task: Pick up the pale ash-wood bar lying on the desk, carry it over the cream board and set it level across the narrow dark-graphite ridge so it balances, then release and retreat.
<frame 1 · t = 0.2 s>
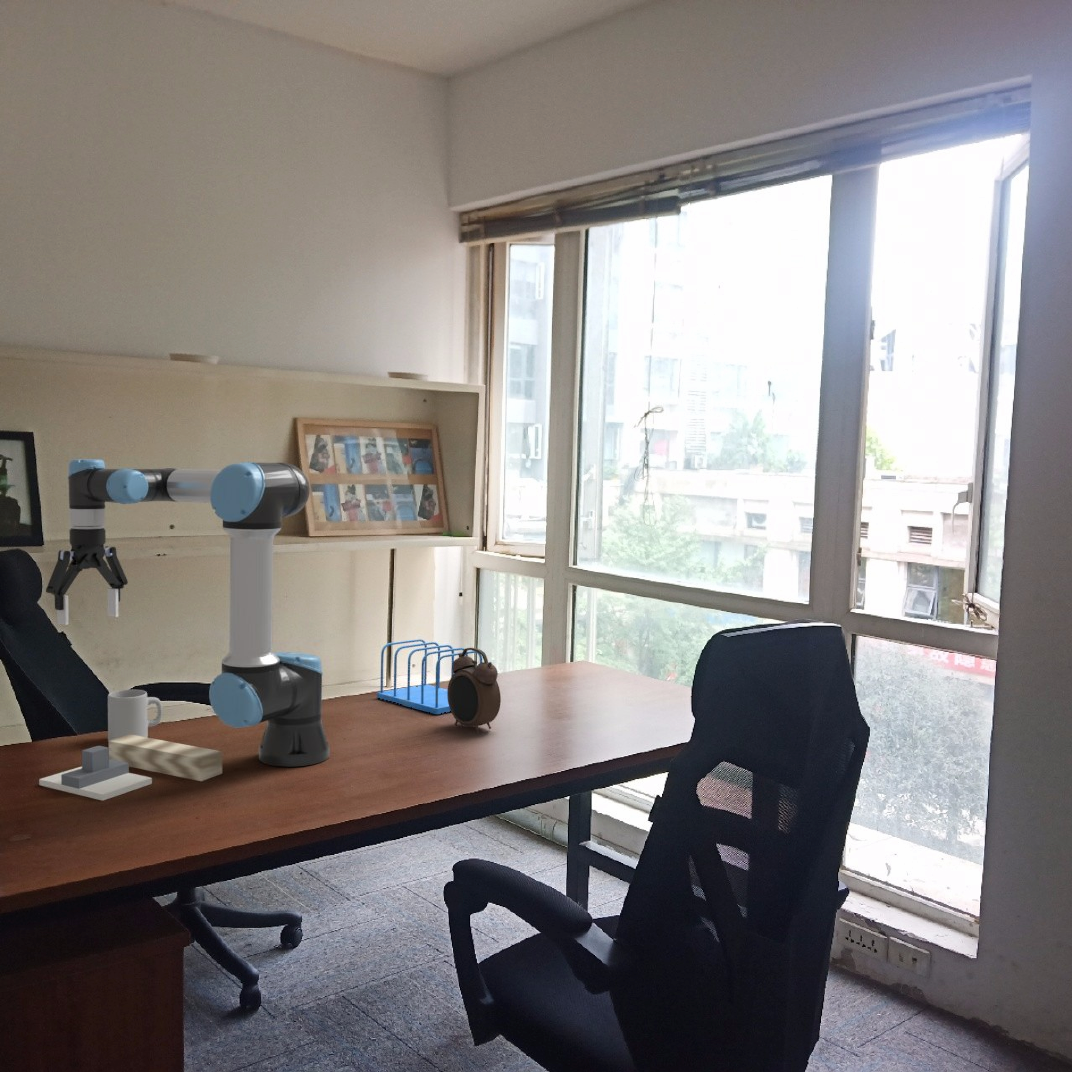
hand: (88, 620, 240), 28 cm above the table, fingers open, 13 cm apart
oak bar: (164, 769, 223), on the table
file sorter: (430, 703, 286), on the table
alarm clock: (472, 729, 259), on the table
mug: (135, 740, 243), on the table
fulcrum: (95, 784, 211), on the table
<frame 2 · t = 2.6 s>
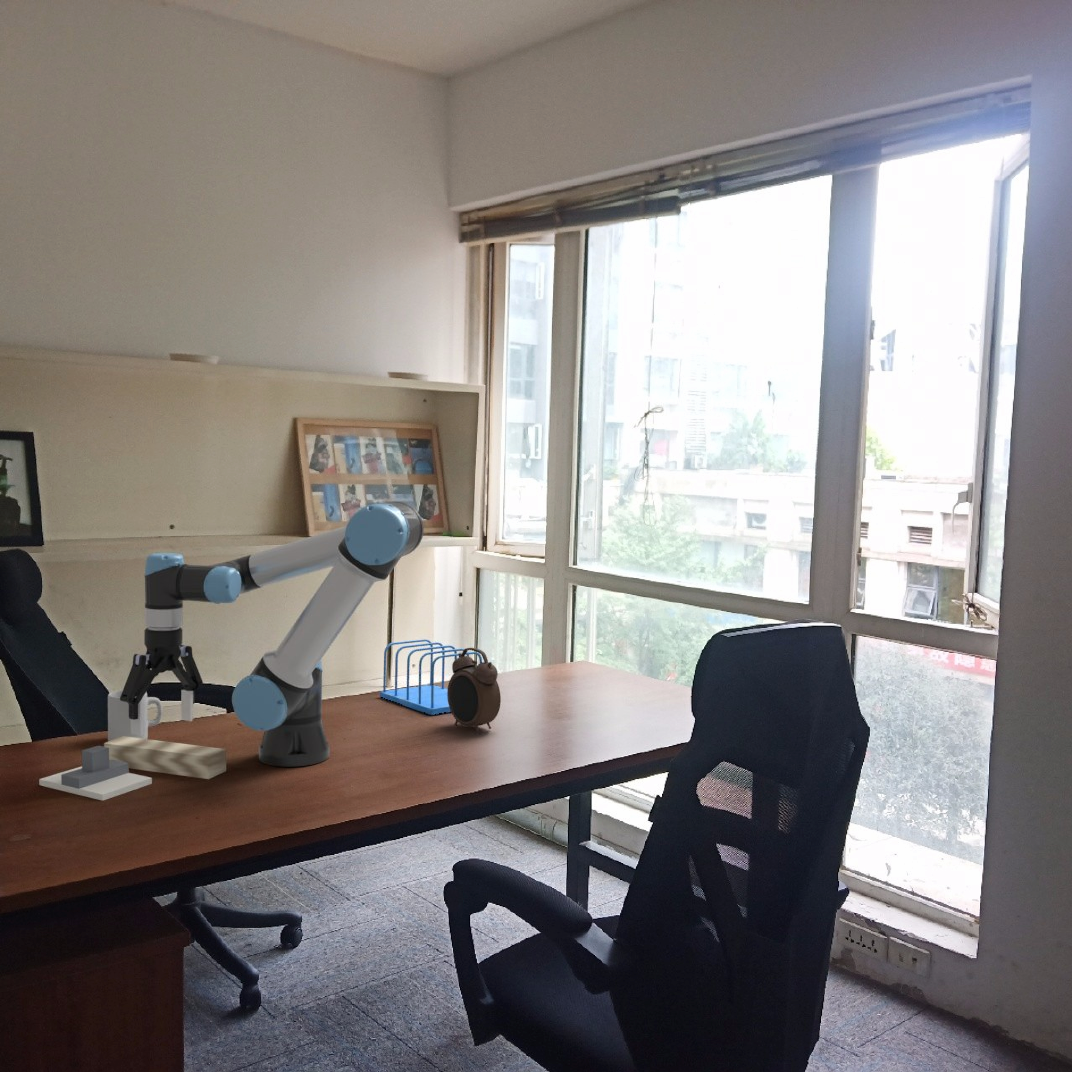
hand: (162, 727, 222), 9 cm above the table, fingers open, 13 cm apart
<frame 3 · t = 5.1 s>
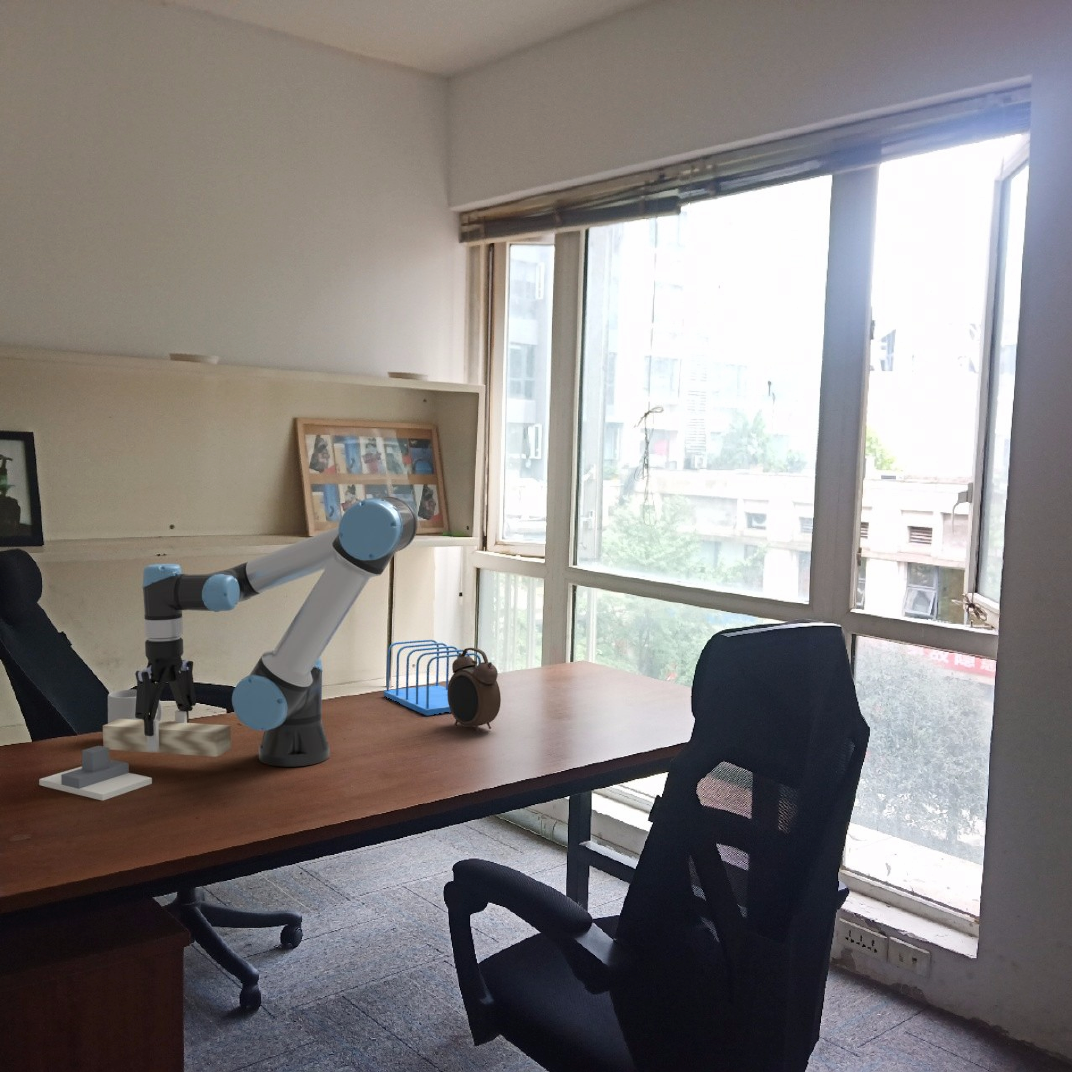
hand: (167, 745, 222), 5 cm above the table, fingers closed on oak bar, 7 cm apart
oak bar: (167, 748, 222), point 4 cm above the table, touching gripper
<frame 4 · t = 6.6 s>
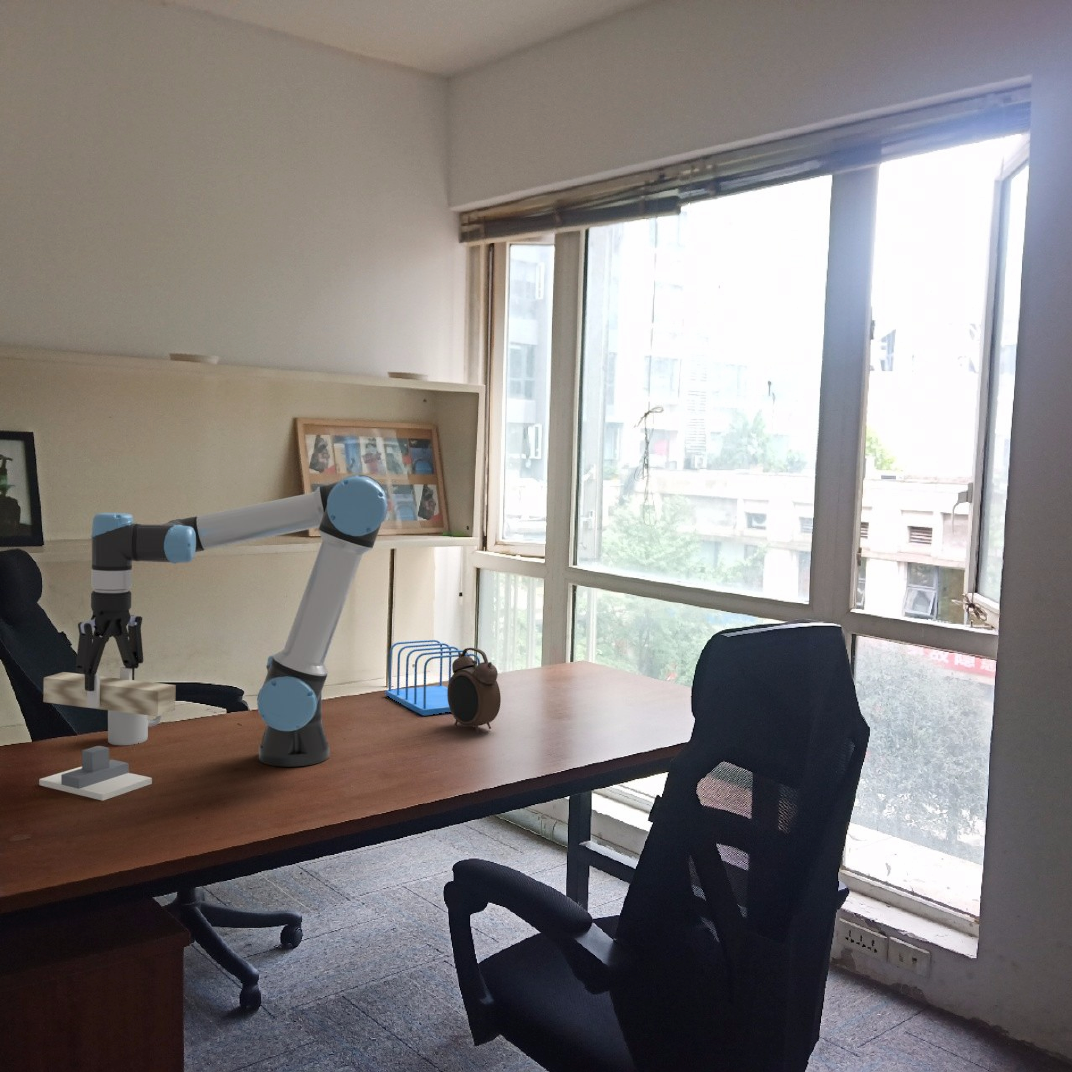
hand: (109, 702, 213), 16 cm above the table, fingers closed on oak bar, 7 cm apart
oak bar: (109, 705, 213), point 15 cm above the table, touching gripper
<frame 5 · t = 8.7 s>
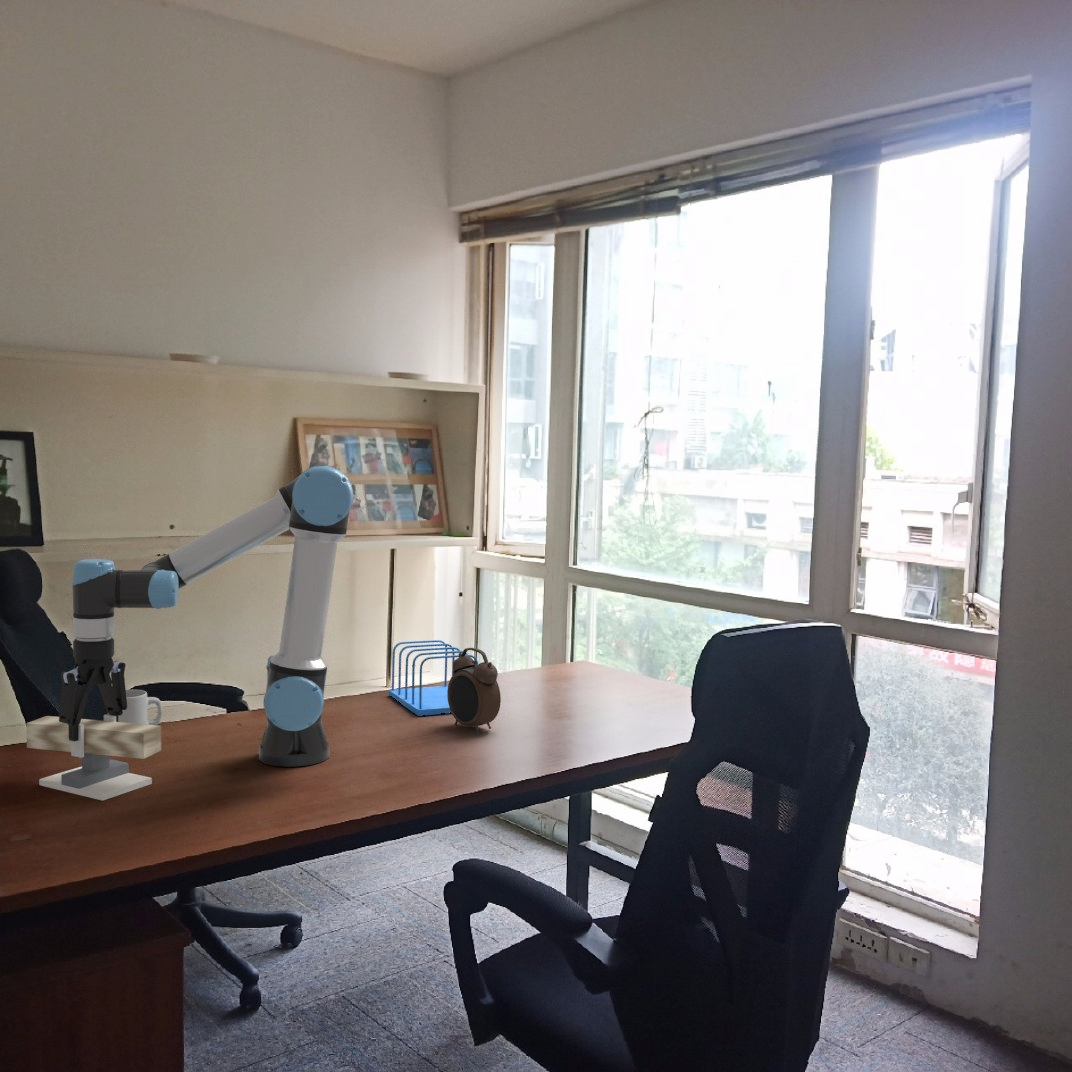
hand: (94, 751, 210), 7 cm above the table, fingers closed on oak bar, 7 cm apart
oak bar: (94, 749, 210), point 7 cm above the table, touching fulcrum, gripper
when the fingers open (7 cm above the table, at t = 9.3 s): oak bar stays where it is, resting on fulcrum.
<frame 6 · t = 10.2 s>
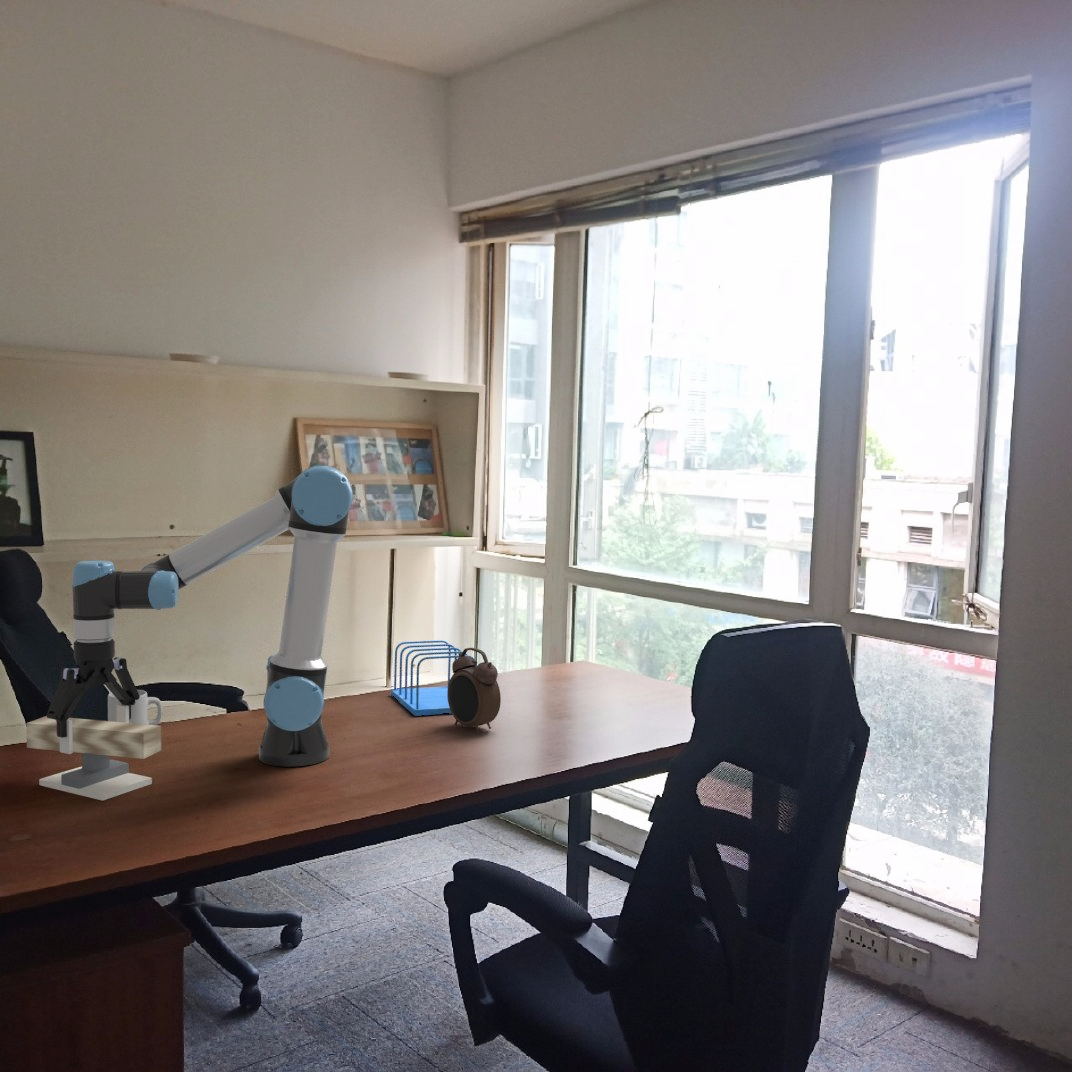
hand: (95, 744, 210), 8 cm above the table, fingers open, 13 cm apart
oak bar: (94, 749, 210), point 7 cm above the table, touching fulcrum
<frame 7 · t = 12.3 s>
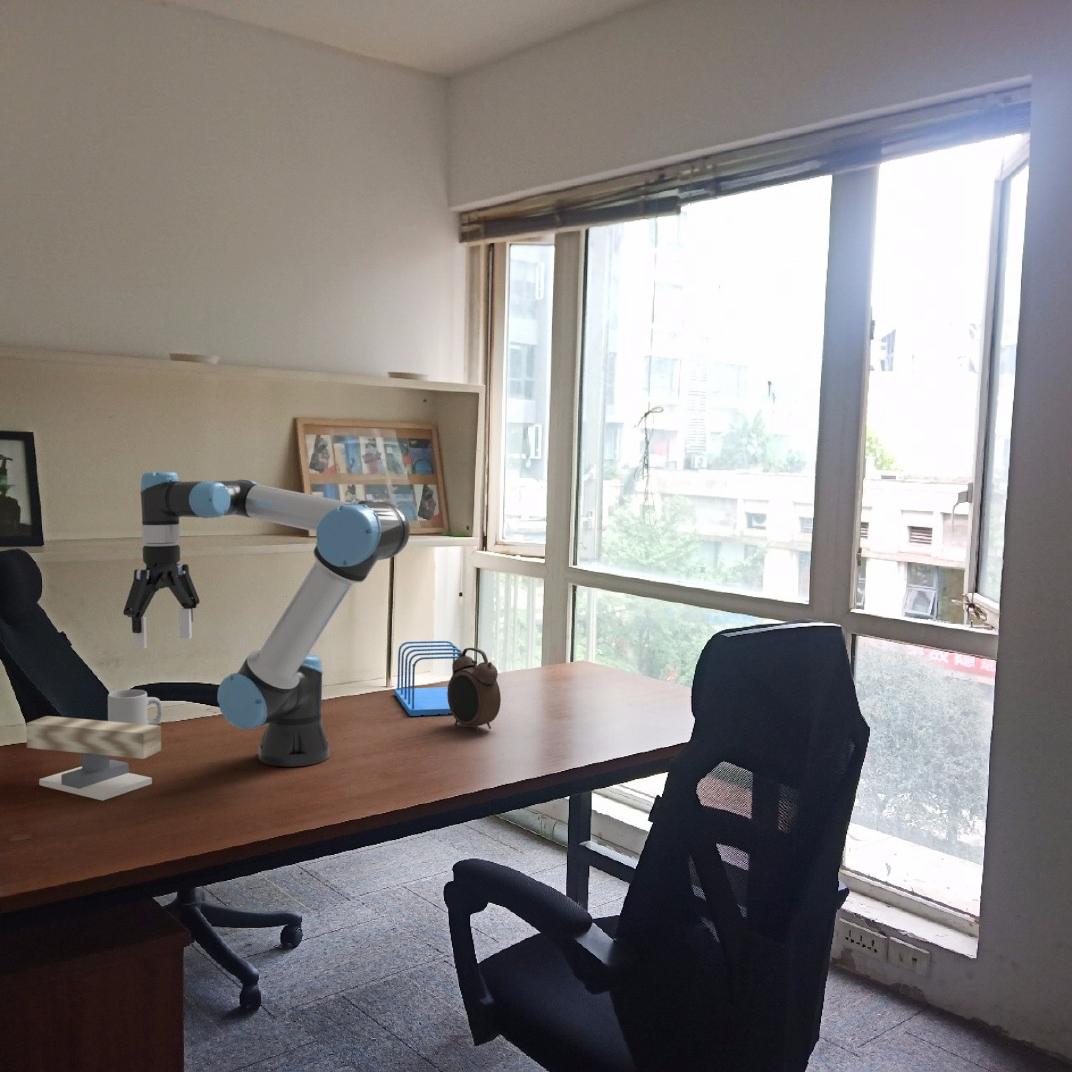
hand: (163, 643, 226), 25 cm above the table, fingers open, 13 cm apart
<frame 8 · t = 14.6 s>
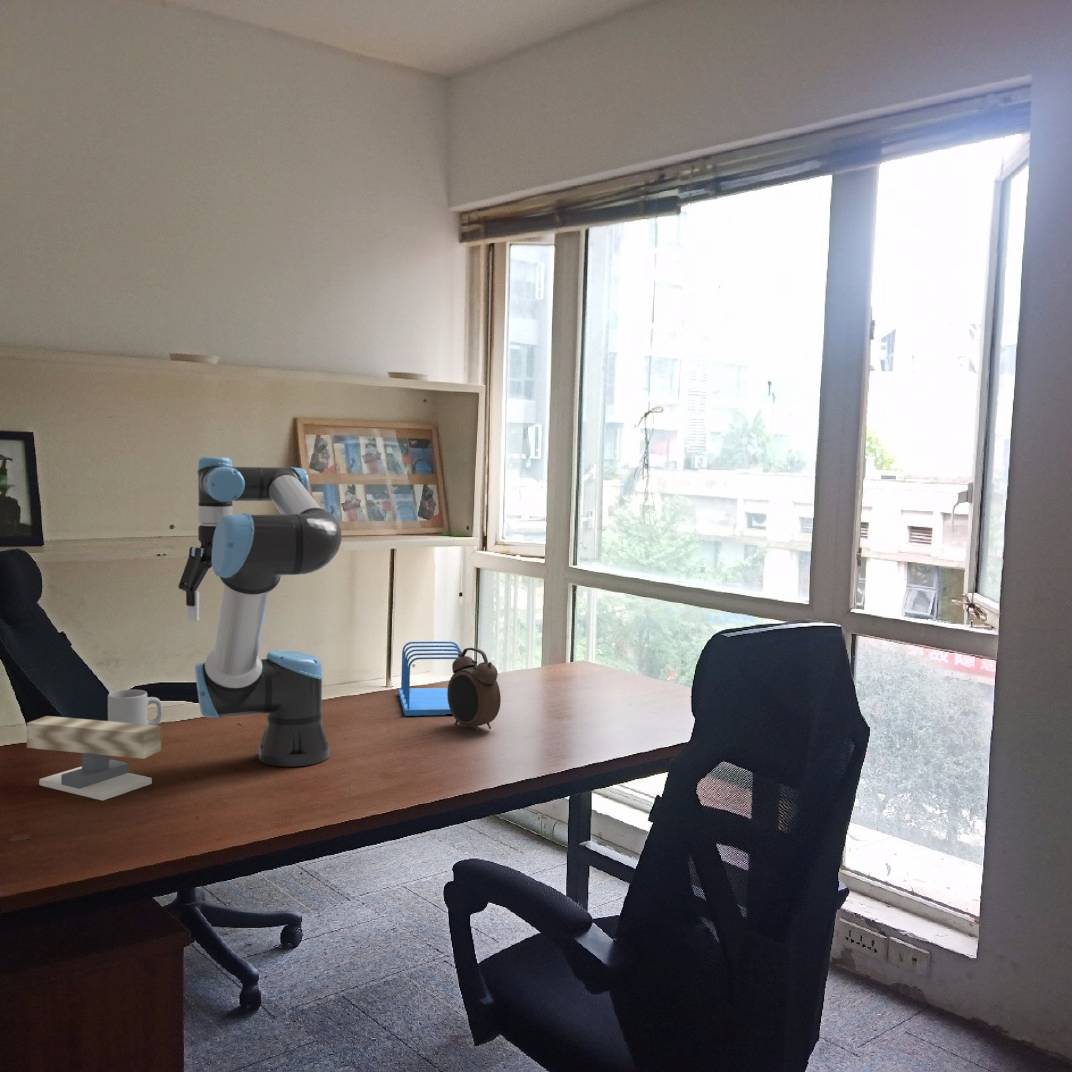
hand: (215, 616, 243), 29 cm above the table, fingers open, 13 cm apart
at the end: oak bar 0.3 cm off-centre on the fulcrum, point 7.2 cm above the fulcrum's base; oak bar tilted 0°; the gripper is holding nothing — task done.
